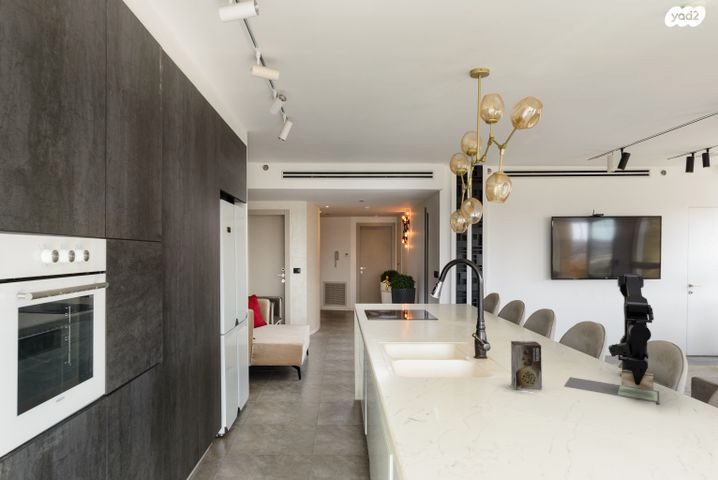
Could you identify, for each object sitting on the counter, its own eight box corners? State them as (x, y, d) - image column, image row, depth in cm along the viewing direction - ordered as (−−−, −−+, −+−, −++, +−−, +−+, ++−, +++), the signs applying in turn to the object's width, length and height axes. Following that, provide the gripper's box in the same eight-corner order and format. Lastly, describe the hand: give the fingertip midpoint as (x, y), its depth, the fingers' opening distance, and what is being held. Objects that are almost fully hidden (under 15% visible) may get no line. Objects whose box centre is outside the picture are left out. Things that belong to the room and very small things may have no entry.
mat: (570, 378, 163) (570, 376, 163) (658, 393, 147) (658, 391, 147) (563, 388, 152) (563, 386, 152) (659, 404, 136) (659, 402, 136)
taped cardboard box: (653, 386, 145) (653, 373, 145) (653, 389, 141) (653, 377, 141) (622, 381, 150) (622, 369, 150) (621, 384, 146) (621, 372, 146)
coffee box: (536, 385, 154) (536, 341, 155) (542, 391, 148) (542, 345, 148) (510, 384, 155) (510, 340, 156) (515, 390, 149) (515, 344, 149)
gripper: (612, 330, 158) (612, 372, 157) (607, 338, 143) (607, 385, 142) (648, 334, 152) (648, 378, 151) (647, 343, 136) (648, 392, 136)
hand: (637, 383), depth 145 cm, fingers closed on taped cardboard box, 5 cm apart
